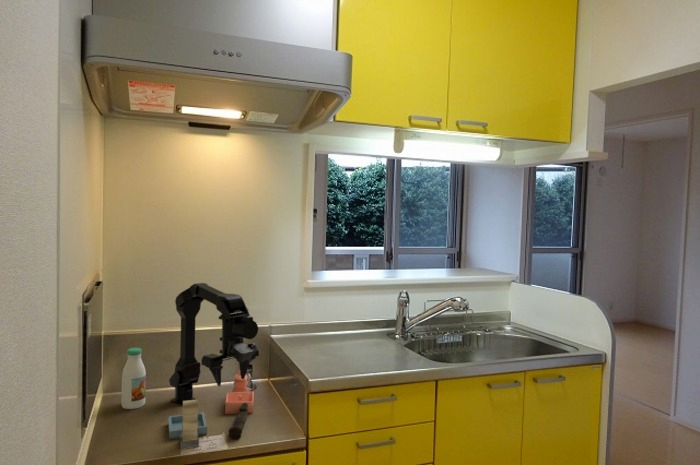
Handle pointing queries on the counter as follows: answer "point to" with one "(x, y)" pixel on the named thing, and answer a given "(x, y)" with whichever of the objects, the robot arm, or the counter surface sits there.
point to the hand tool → (239, 422)
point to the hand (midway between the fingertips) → (231, 382)
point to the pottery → (239, 396)
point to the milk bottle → (133, 380)
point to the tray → (176, 426)
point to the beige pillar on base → (189, 425)
